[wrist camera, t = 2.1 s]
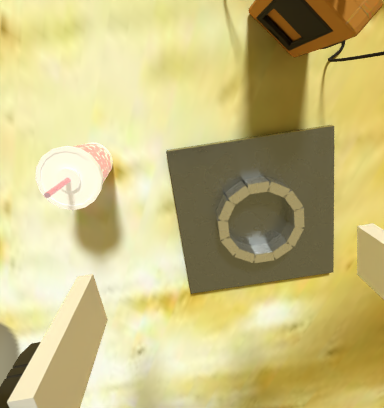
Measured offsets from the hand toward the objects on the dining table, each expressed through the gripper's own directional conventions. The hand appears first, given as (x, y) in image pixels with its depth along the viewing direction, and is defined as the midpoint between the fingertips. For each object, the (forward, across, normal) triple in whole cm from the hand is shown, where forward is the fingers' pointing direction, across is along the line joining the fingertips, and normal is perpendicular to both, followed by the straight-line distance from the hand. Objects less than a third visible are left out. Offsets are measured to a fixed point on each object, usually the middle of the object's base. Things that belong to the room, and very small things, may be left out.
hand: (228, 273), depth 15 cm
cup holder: (+24, +7, -7) cm, 26 cm away
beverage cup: (+25, -12, +3) cm, 28 cm away
